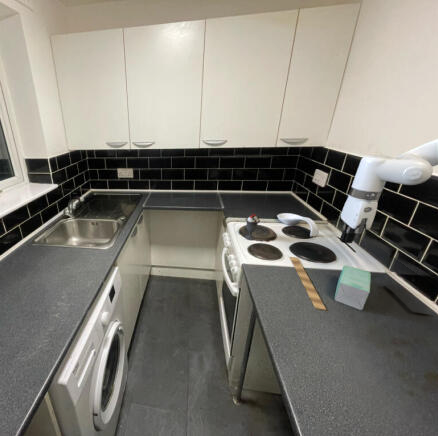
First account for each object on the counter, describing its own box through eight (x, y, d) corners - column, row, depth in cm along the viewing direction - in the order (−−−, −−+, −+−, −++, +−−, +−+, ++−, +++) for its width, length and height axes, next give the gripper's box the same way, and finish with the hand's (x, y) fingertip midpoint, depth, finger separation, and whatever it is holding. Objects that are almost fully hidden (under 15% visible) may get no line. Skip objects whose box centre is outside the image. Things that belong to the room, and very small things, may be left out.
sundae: (244, 240, 115) (248, 213, 109) (241, 234, 121) (245, 208, 115) (258, 241, 114) (263, 213, 107) (254, 235, 120) (259, 208, 113)
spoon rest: (271, 219, 136) (274, 208, 133) (288, 217, 138) (291, 206, 135) (305, 238, 115) (308, 225, 112) (324, 235, 117) (328, 222, 114)
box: (364, 288, 82) (371, 271, 78) (362, 311, 73) (370, 292, 69) (338, 279, 86) (344, 263, 83) (333, 300, 77) (340, 282, 74)
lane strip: (289, 257, 100) (289, 256, 100) (297, 258, 100) (297, 257, 99) (315, 308, 74) (315, 307, 74) (326, 310, 73) (326, 309, 73)
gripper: (393, 202, 68) (369, 254, 76) (365, 187, 81) (347, 233, 89) (363, 200, 70) (343, 251, 78) (340, 186, 83) (325, 231, 91)
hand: (345, 241), depth 83 cm, fingers closed
